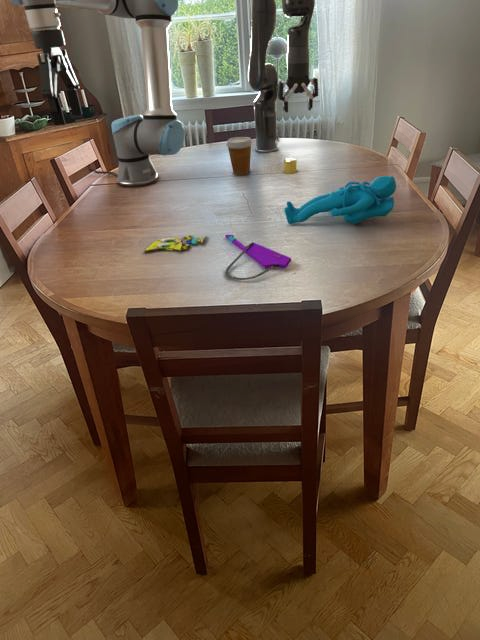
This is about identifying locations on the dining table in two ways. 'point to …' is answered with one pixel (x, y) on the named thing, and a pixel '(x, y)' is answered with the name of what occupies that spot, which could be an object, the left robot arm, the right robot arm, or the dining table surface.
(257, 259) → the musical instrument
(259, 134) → the right robot arm
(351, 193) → the toy
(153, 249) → the toy
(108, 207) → the dining table surface
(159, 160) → the dining table surface
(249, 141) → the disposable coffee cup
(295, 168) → the canister
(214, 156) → the dining table surface
